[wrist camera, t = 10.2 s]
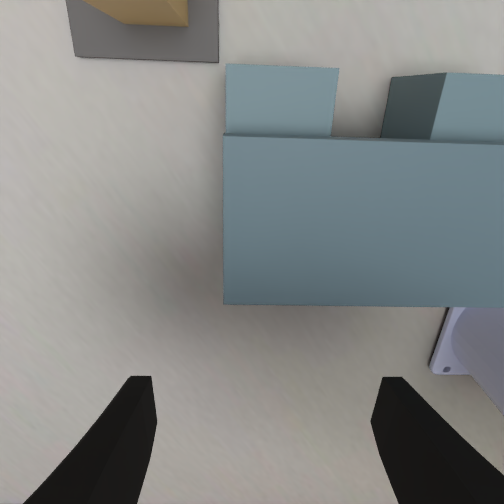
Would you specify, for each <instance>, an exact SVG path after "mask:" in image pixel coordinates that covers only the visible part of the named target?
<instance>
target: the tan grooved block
mask: <svg viewBox="0 0 504 504" xmlns="http://www.w3.org/2000/svg"><path fill="white" fill-rule="evenodd" d="M83 1H85V2H87V3H88V4H90V5H92V6H94V7H95V8H97V9H99V10H101V11H102V12H104V13H106V14H108V15H109V16H111V17H113V18H115V19H116V20H118V21H120V22H122V23H123V24H136V25H158V26H180V27H189V26H188V1H187V0H83Z"/></svg>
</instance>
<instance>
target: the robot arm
mask: <svg viewBox="0 0 504 504" xmlns="http://www.w3.org/2000/svg"><path fill="white" fill-rule="evenodd" d="M429 368H430V370H431V371H432V373H434V374H446V375H471V376H472V377H473V378H474V379H475V381H476V382H477V383H478V384H479V386H480V387H481V388H482V389H483V391H484V392H485V393H486V394H487V395H488V397H489V398H490V399H491V400H492V402H493V403H494V404H495V405H496V407H497V408H498V409H499V410H500V412H501V413H502V414H503V415H504V308H475V307H450V308H449V311H448V314H447V317H446V320H445V323H444V325H443V328H442V331H441V334H440V337H439V340H438V342H437V345H436V348H435V351H434V354H433V357H432V360H431V362H430V365H429ZM371 425H372V429H373V433H374V437H375V440H376V444H377V447H378V451H379V454H380V457H381V460H382V463H383V465H384V468H385V470H386V473H387V475H388V478H389V480H390V483H391V486H392V488H393V491H394V493H395V496H396V498H397V501H398V503H399V504H504V475H503V474H502V473H501V472H500V471H498V470H497V469H496V468H495V467H494V466H493V465H492V464H491V463H489V462H488V461H487V460H486V459H485V458H484V457H483V456H482V455H481V454H480V453H478V452H477V451H476V450H475V449H474V448H473V447H472V446H471V445H470V444H469V443H468V442H467V441H466V440H465V439H464V438H462V437H461V436H460V435H459V434H458V433H457V432H456V431H455V430H454V429H453V428H452V427H451V426H450V425H449V424H448V423H447V422H446V421H445V420H444V419H443V418H442V417H441V416H440V415H439V414H438V413H437V412H436V411H435V410H434V409H433V408H432V407H431V406H430V405H429V404H428V403H427V402H426V401H425V400H424V399H423V398H422V397H421V396H420V395H419V394H418V393H417V392H416V391H415V390H414V389H413V388H412V387H411V386H410V384H409V383H408V382H407V381H405V380H404V379H403V378H402V377H383V378H382V381H381V385H380V389H379V392H378V396H377V400H376V403H375V407H374V410H373V414H372V418H371ZM156 426H157V416H156V409H155V401H154V393H153V386H152V378H151V376H130V377H129V378H128V379H127V381H126V382H125V383H124V385H123V386H122V388H121V389H120V390H119V392H118V393H117V394H116V396H115V397H114V398H113V400H112V401H111V402H110V404H109V405H108V406H107V408H106V409H105V410H104V411H103V413H102V414H101V415H100V417H99V418H98V419H97V420H96V422H95V423H94V424H93V425H92V427H91V428H90V429H89V430H88V432H87V433H86V434H85V435H84V436H83V438H82V439H81V440H80V441H79V443H78V444H77V445H76V446H75V447H74V448H73V450H72V451H71V452H70V453H69V454H68V455H67V456H66V458H65V459H64V460H63V461H62V462H61V463H60V464H59V465H58V467H57V468H56V469H55V470H54V471H53V472H52V473H51V475H50V476H49V477H48V478H47V479H46V480H45V481H44V482H43V483H42V484H41V485H40V486H39V487H38V489H37V490H36V491H35V492H34V493H33V494H32V495H31V496H30V497H29V498H28V499H27V500H26V501H25V502H24V503H23V504H137V502H138V498H139V495H140V492H141V488H142V485H143V482H144V478H145V475H146V471H147V468H148V464H149V461H150V457H151V452H152V447H153V442H154V437H155V431H156Z"/></svg>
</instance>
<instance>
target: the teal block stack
mask: <svg viewBox="0 0 504 504" xmlns="http://www.w3.org/2000/svg"><path fill="white" fill-rule="evenodd" d="M338 75H339V68H321V67H297V66H272V65H248V64H226V133H224V135H223V286H224V304H230V305H312V306H394V307H475V308H504V75H493V74H468V73H437V74H426V75H414V76H403V77H392V80H391V85H390V90H389V95H388V101H387V106H386V111H385V116H384V121H383V127H382V132H381V137H380V138H361V137H331V129H332V121H333V113H334V106H335V98H336V90H337V83H338Z"/></svg>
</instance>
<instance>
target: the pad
mask: <svg viewBox="0 0 504 504" xmlns="http://www.w3.org/2000/svg"><path fill="white" fill-rule="evenodd" d="M187 1H188V26H189V27H180V26H158V25H136V24H123V23H122V22H120V21H118V20H116V19H115V18H113V17H111V16H109V15H108V14H106V13H104V12H102V11H101V10H99V9H97V8H95V7H94V6H92V5H90V4H88V3H87V2H85V1H83V0H66V6H67V11H68V17H69V23H70V29H71V35H72V41H73V47H74V53H75V56H77V57H90V58H115V59H139V60H163V61H188V62H212V63H219V37H218V0H187Z"/></svg>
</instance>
